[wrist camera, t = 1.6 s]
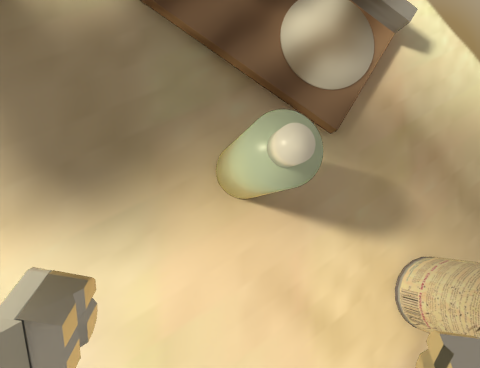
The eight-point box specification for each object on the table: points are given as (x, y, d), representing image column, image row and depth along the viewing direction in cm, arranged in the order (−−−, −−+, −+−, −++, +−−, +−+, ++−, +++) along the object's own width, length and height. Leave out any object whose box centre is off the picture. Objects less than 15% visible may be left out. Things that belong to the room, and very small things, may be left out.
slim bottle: (205, 178, 39) (237, 154, 25) (235, 131, 40) (282, 83, 26) (252, 209, 39) (309, 202, 26) (281, 163, 40) (350, 132, 27)
